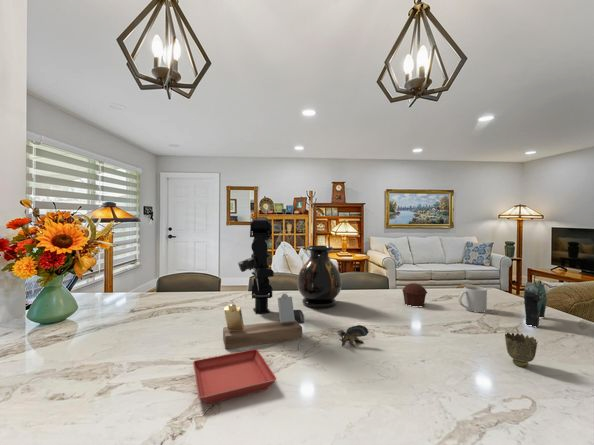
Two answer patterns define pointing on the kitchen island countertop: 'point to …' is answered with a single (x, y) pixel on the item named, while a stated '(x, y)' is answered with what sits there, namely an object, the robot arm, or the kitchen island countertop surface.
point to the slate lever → (286, 309)
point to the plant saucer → (232, 375)
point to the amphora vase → (319, 279)
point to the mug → (474, 298)
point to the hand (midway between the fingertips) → (260, 291)
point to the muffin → (414, 294)
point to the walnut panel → (262, 334)
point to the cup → (521, 348)
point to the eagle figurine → (352, 334)
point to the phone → (298, 316)
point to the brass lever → (234, 318)
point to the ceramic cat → (534, 302)
